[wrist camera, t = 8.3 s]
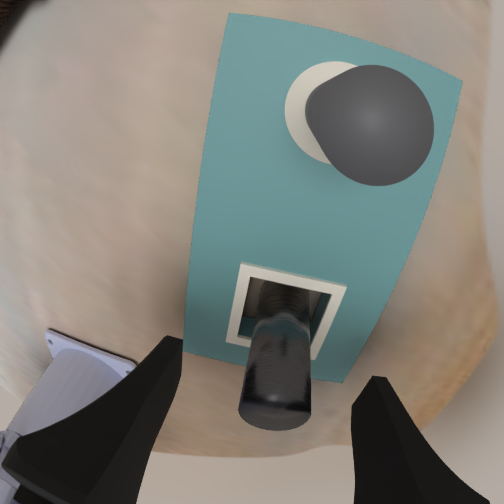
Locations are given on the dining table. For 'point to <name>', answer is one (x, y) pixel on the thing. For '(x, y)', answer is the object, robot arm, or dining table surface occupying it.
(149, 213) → the dining table surface
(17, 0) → the bolt
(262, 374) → the pin
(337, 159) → the pin board
